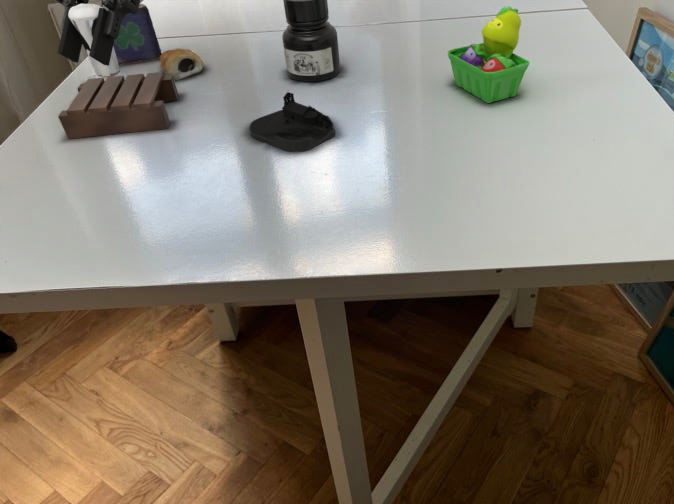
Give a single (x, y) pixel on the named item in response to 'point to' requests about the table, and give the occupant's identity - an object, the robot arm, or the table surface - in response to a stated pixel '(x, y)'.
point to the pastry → (180, 63)
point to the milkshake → (91, 36)
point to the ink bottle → (310, 41)
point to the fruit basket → (491, 60)
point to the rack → (120, 105)
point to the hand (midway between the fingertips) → (83, 58)
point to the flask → (137, 38)
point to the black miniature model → (293, 127)
